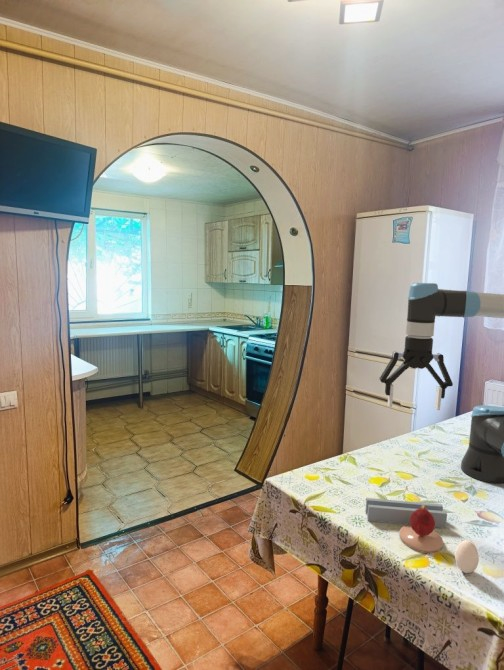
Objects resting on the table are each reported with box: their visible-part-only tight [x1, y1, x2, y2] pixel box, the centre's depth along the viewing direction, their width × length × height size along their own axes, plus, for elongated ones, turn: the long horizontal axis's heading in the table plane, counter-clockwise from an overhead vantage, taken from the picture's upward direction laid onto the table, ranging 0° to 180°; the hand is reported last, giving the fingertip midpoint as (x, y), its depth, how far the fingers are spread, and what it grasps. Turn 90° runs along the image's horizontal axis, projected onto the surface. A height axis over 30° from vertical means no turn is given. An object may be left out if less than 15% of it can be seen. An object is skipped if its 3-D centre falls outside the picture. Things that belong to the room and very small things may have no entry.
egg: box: [454, 539, 480, 574], centre depth 96 cm, size 5×5×7 cm
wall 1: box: [365, 497, 444, 515], centre depth 118 cm, size 20×1×4 cm, turn 83°
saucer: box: [399, 524, 444, 554], centre depth 108 cm, size 10×10×1 cm
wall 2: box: [366, 505, 448, 529], centre depth 114 cm, size 20×1×4 cm, turn 83°
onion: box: [410, 505, 436, 536], centre depth 107 cm, size 6×6×8 cm
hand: (413, 407), depth 128 cm, fingers open, 13 cm apart
